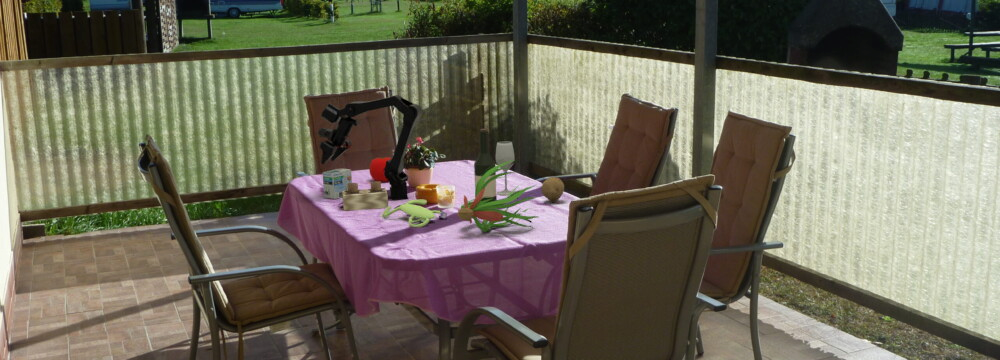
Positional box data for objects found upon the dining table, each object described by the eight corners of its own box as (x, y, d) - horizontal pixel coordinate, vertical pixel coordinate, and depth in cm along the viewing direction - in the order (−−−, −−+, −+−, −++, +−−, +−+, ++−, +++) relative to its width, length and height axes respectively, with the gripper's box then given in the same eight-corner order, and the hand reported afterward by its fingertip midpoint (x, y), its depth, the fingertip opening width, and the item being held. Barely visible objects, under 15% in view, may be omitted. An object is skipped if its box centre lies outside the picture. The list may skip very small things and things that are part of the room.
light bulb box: (334, 199, 435) (333, 173, 433) (323, 197, 439) (321, 172, 437) (353, 194, 443) (351, 169, 441) (342, 193, 447) (340, 167, 445)
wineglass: (516, 191, 438) (514, 140, 434) (514, 195, 431) (513, 143, 427) (497, 191, 439) (496, 141, 435) (496, 195, 431) (494, 144, 427)
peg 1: (358, 197, 419) (357, 182, 418) (358, 199, 416) (358, 184, 414) (348, 197, 419) (347, 183, 418) (348, 199, 415) (347, 185, 414)
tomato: (365, 183, 466) (364, 158, 464) (377, 177, 479) (376, 153, 477) (390, 184, 463) (389, 159, 461) (402, 178, 475) (400, 154, 473)
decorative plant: (446, 249, 370) (499, 228, 393) (500, 244, 354) (553, 223, 376) (429, 176, 368) (484, 160, 390) (483, 168, 351) (537, 151, 374)
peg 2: (381, 195, 421) (380, 180, 420) (382, 197, 417) (381, 182, 416) (371, 196, 420) (370, 181, 419) (371, 198, 416) (370, 183, 415)
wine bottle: (494, 208, 407) (491, 130, 402) (473, 208, 409) (470, 130, 403) (499, 203, 415) (496, 127, 410) (478, 203, 417) (475, 127, 411)
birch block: (386, 202, 425) (385, 187, 424) (388, 207, 415) (387, 191, 414) (343, 205, 422) (342, 190, 421) (344, 211, 412) (343, 195, 411)
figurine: (418, 210, 412) (417, 195, 411) (457, 221, 391) (457, 206, 389) (377, 217, 401) (376, 203, 400) (415, 229, 380) (414, 214, 379)
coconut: (560, 205, 409) (560, 179, 407) (538, 204, 412) (537, 179, 410) (567, 200, 418) (566, 175, 416) (545, 199, 421) (544, 174, 419)
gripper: (336, 117, 443) (321, 149, 447) (316, 122, 425) (300, 155, 430) (358, 131, 441) (342, 162, 445) (339, 136, 423) (323, 169, 428)
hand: (327, 162), depth 437 cm, fingers open, 9 cm apart
